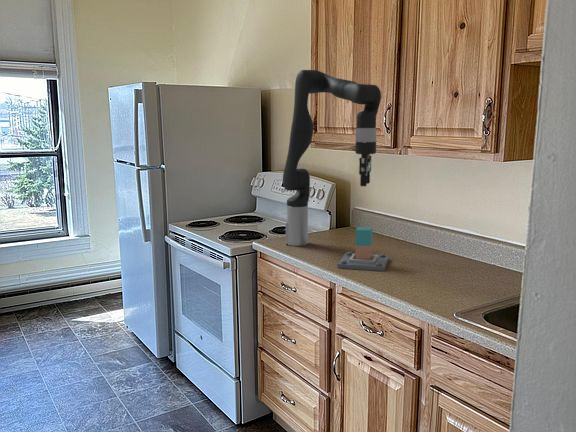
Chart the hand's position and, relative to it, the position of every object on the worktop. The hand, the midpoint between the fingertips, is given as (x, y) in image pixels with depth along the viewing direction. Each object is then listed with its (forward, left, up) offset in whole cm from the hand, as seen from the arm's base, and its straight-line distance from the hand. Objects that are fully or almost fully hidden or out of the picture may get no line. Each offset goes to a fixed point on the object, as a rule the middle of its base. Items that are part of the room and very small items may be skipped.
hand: (365, 184), depth 196 cm
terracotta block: (0, 0, -29) cm, 29 cm away
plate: (0, 0, -30) cm, 30 cm away
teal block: (0, 0, -23) cm, 23 cm away
